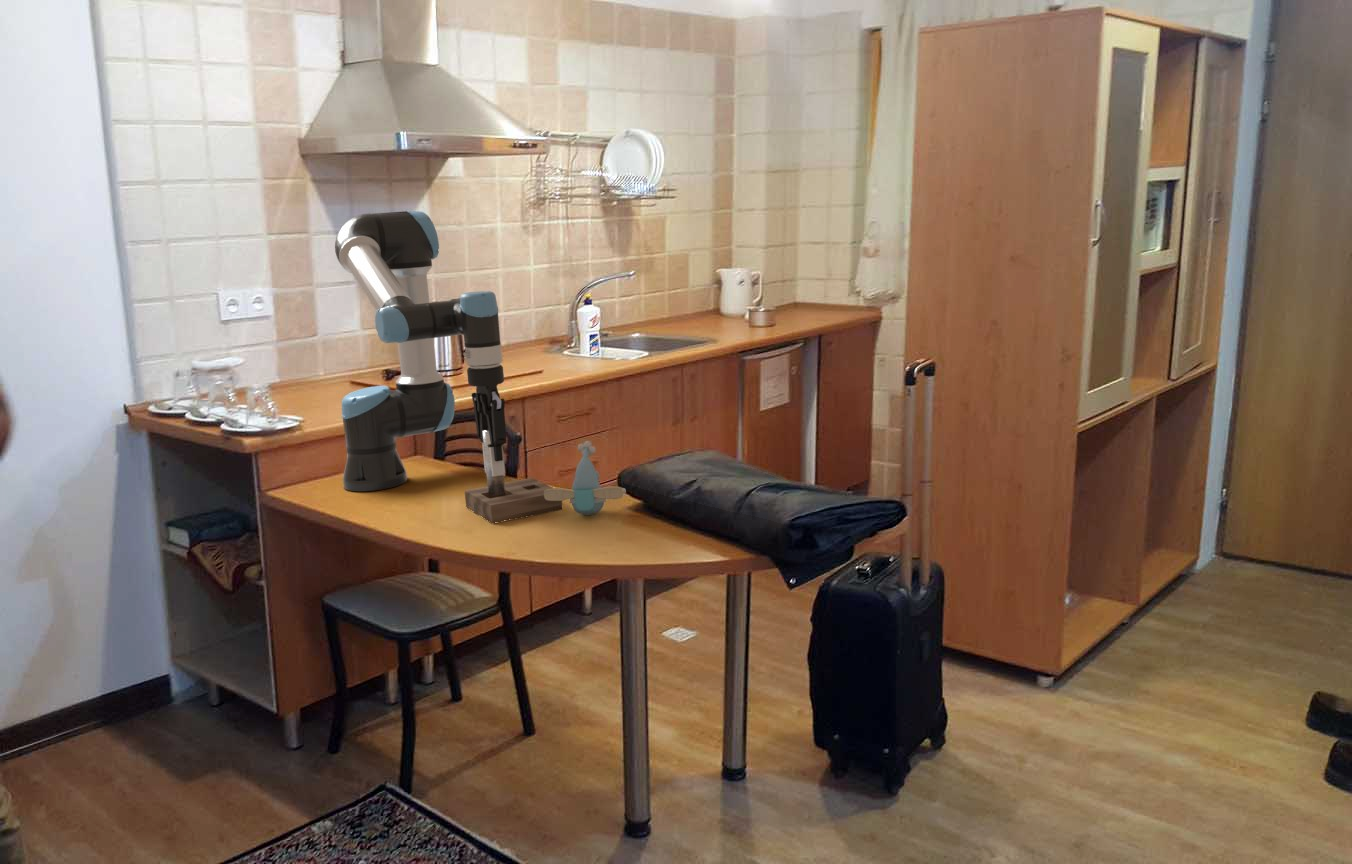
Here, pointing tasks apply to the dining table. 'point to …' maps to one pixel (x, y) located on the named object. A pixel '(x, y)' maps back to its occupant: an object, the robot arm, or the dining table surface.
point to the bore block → (511, 501)
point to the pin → (495, 482)
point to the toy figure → (585, 486)
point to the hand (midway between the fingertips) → (495, 473)
